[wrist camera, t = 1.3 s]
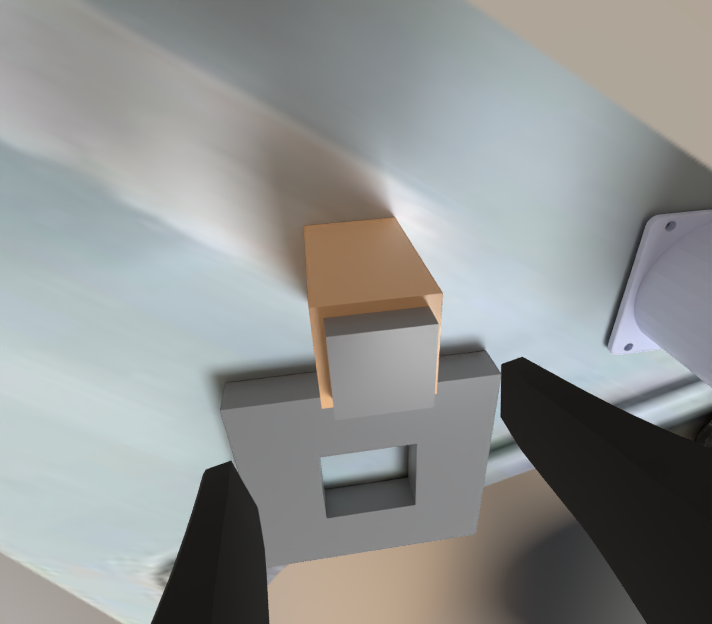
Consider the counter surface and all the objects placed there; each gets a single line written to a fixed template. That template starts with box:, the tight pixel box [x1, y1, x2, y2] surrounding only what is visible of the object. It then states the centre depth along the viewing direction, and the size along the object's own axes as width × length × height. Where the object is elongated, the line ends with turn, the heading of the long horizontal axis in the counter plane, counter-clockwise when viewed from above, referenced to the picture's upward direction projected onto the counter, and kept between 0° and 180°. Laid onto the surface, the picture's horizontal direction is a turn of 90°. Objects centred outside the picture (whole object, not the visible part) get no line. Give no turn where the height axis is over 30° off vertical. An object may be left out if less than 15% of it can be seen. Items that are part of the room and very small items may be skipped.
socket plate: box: [220, 351, 501, 567], centre depth 25 cm, size 14×14×2 cm
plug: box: [304, 217, 443, 420], centre depth 16 cm, size 4×4×8 cm
